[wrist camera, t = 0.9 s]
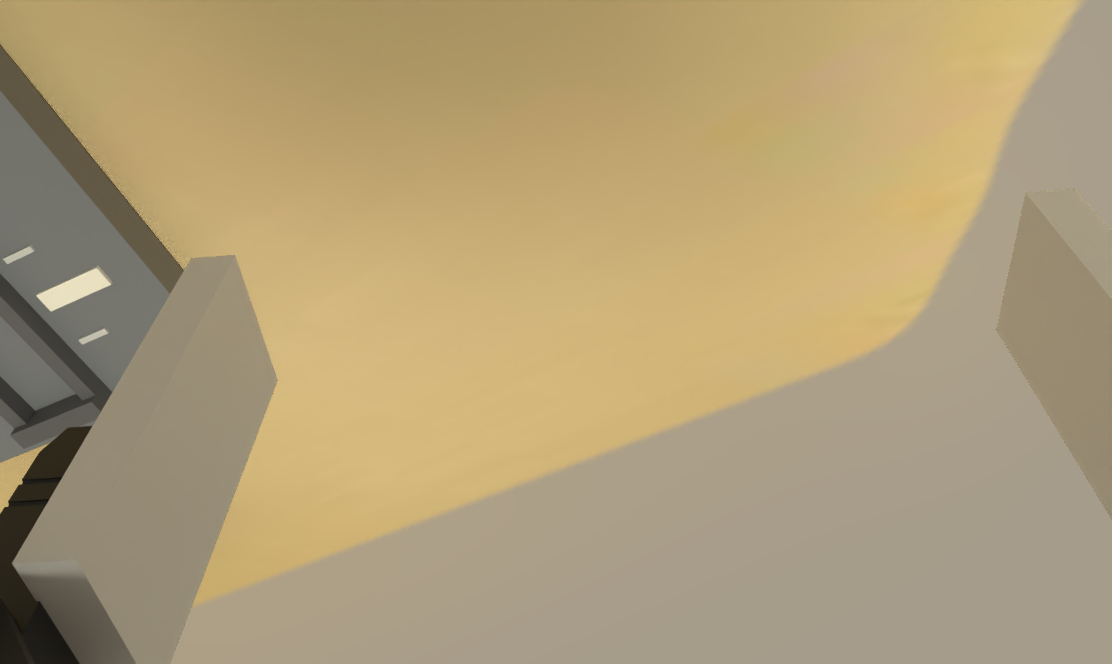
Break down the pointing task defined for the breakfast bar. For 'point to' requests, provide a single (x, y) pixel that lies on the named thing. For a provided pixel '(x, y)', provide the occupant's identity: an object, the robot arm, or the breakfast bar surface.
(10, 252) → the console
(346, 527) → the breakfast bar surface
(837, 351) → the breakfast bar surface
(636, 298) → the breakfast bar surface
